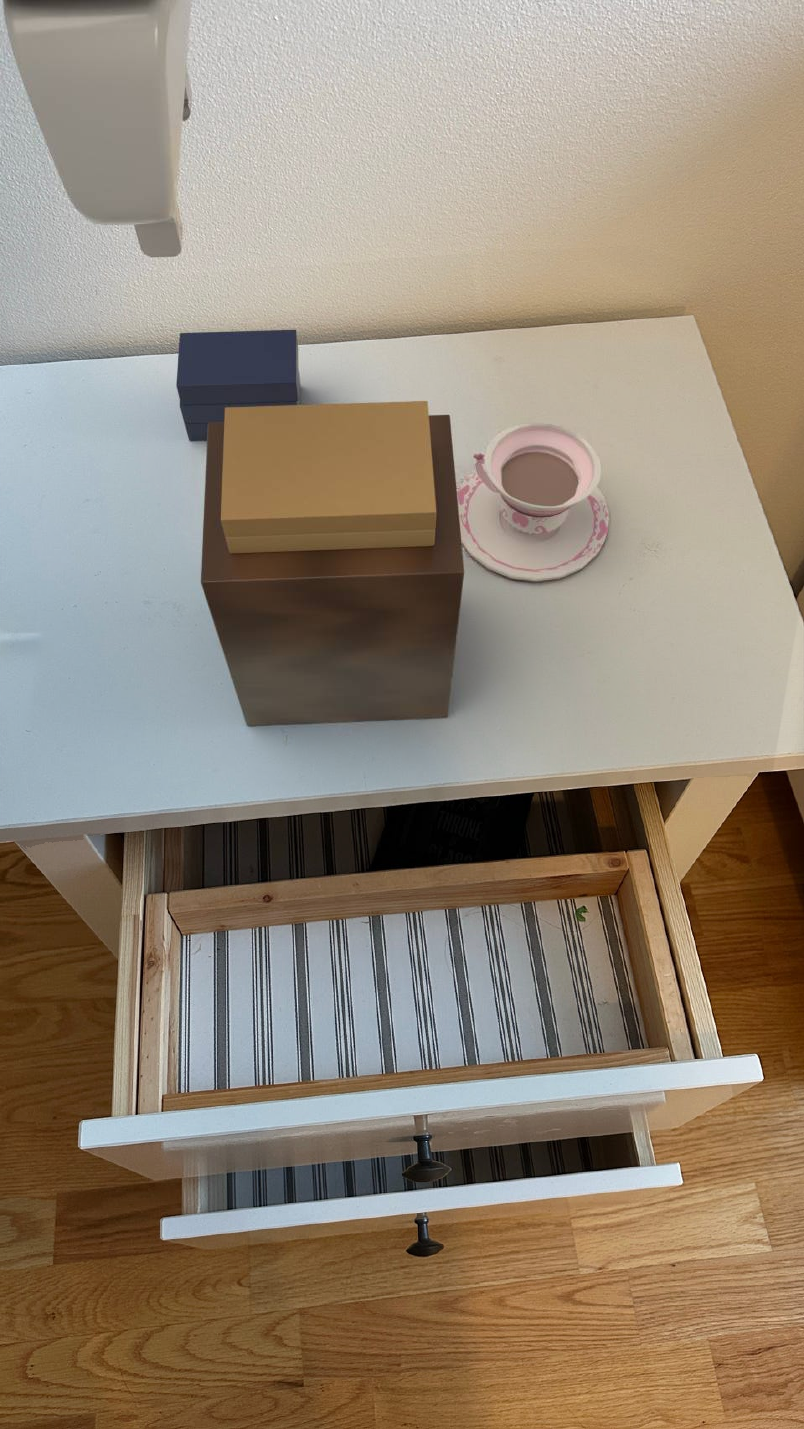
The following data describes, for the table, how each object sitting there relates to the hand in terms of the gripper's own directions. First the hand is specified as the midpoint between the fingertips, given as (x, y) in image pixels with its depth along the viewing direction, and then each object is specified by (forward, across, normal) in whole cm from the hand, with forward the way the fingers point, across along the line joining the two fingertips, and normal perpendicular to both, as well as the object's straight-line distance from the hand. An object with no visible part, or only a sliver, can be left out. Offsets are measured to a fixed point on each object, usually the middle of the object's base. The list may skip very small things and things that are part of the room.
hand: (169, 176), depth 46 cm
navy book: (+27, -14, -1) cm, 31 cm away
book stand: (+31, +8, +7) cm, 33 cm away
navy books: (+31, -14, -1) cm, 34 cm away
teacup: (+31, -3, +21) cm, 38 cm away
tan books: (+13, +8, +7) cm, 17 cm away
